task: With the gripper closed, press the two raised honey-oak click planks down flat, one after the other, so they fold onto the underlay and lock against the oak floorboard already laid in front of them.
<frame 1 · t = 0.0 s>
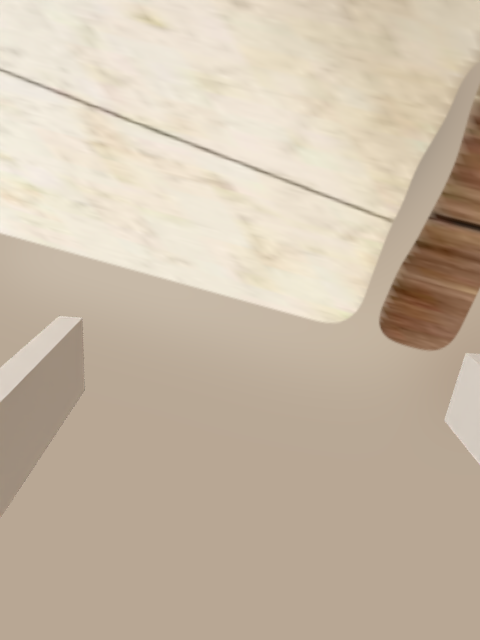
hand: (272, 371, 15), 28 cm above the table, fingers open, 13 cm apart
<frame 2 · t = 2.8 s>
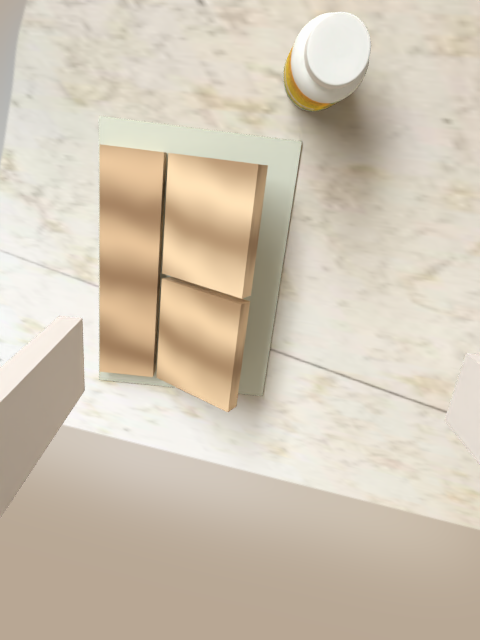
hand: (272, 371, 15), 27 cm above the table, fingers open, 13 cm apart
supplement bottle: (313, 77, 35), on the table
plank a: (209, 224, 36), point 4 cm above the table, hinge at 34.0°
plank b: (199, 342, 40), point 4 cm above the table, hinge at 34.0°
underlay sheet: (190, 271, 41), on the table
laid floorboard: (132, 268, 41), resting on underlay sheet
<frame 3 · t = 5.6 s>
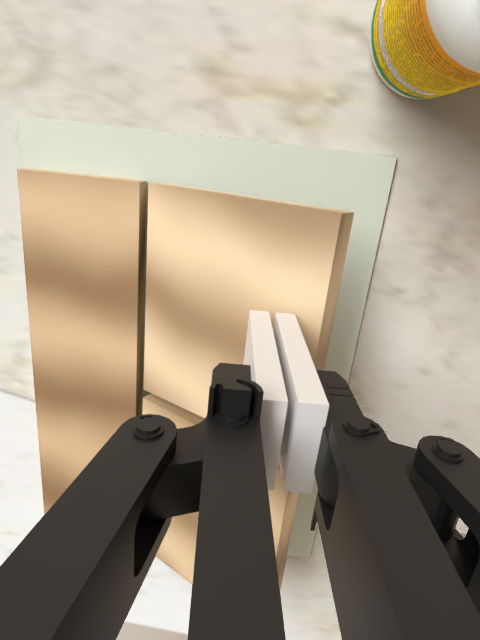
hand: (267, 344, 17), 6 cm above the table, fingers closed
supplement bottle: (425, 33, 18), on the table
plank a: (230, 316, 19), point 3 cm above the table, hinge at 31.7°, touching gripper
plank b: (209, 507, 23), point 4 cm above the table, hinge at 34.0°
underlay sheet: (192, 378, 24), on the table
laid floorboard: (95, 373, 24), resting on underlay sheet
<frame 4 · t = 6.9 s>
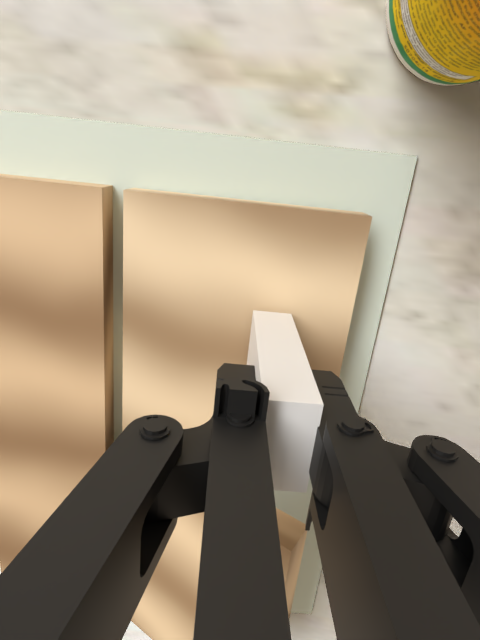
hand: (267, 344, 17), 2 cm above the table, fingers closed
supplement bottle: (454, 4, 15), on the table
plank a: (234, 330, 18), point 1 cm above the table, hinge at 2.1°
plank b: (193, 573, 19), point 4 cm above the table, hinge at 34.0°
underlay sheet: (174, 417, 21), on the table
laid floorboard: (58, 412, 20), resting on underlay sheet
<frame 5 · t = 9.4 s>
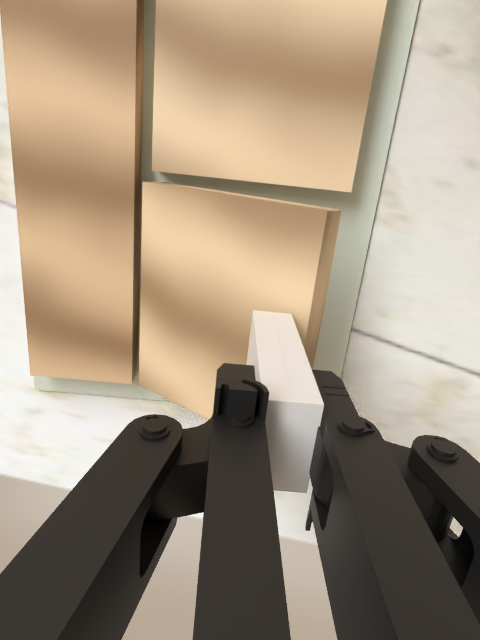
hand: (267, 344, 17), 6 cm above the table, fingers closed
plank a: (265, 50, 18), point 1 cm above the table, hinge at 2.1°
plank b: (221, 313, 19), point 4 cm above the table, hinge at 33.9°, touching gripper
underlay sheet: (201, 174, 21), on the table
laid floorboard: (86, 167, 20), resting on underlay sheet
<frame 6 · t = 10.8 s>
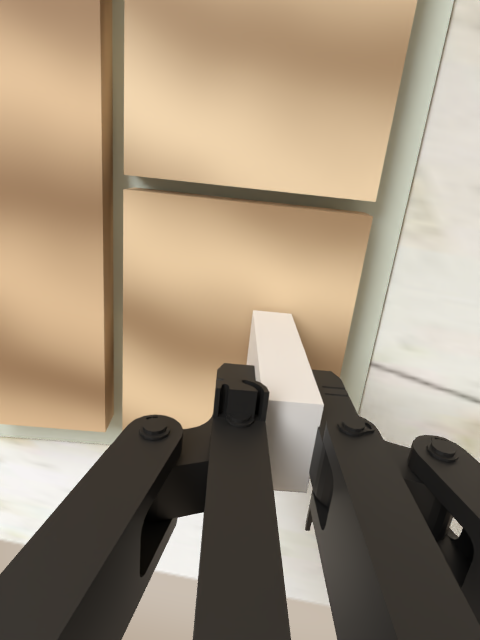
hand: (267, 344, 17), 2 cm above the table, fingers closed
plank a: (267, 20, 14), point 1 cm above the table, hinge at 2.1°
plank b: (235, 330, 18), point 1 cm above the table, hinge at 2.6°, touching gripper
underlay sheet: (187, 179, 17), on the table
laid floorboard: (44, 170, 17), resting on underlay sheet
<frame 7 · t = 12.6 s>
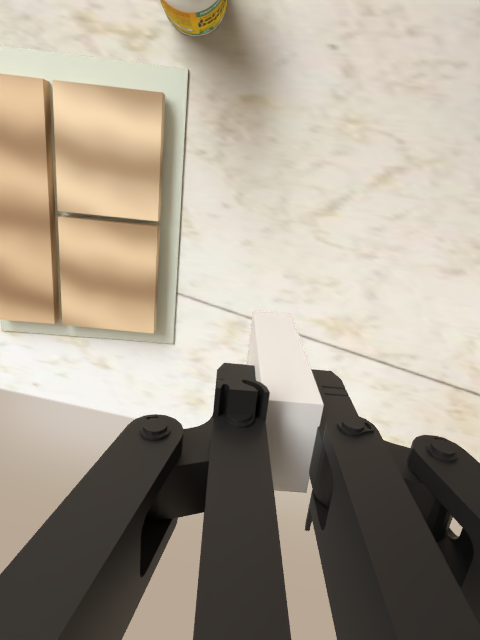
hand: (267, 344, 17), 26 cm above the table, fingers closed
supplement bottle: (195, 0, 35), on the table
plank a: (110, 154, 37), point 1 cm above the table, hinge at 2.1°
plank b: (110, 276, 41), point 1 cm above the table, hinge at 2.6°
underlay sheet: (86, 211, 40), on the table
laid floorboard: (26, 208, 40), resting on underlay sheet
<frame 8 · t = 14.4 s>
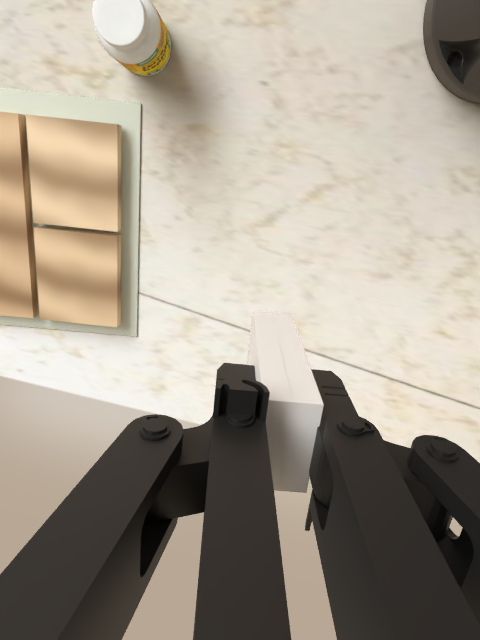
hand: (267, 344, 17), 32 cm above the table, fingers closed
supplement bottle: (144, 46, 41), on the table
plank a: (76, 175, 44), point 1 cm above the table, hinge at 2.1°
plank b: (79, 277, 48), point 1 cm above the table, hinge at 2.6°
underlay sheet: (59, 222, 47), on the table
laid floorboard: (8, 219, 47), resting on underlay sheet
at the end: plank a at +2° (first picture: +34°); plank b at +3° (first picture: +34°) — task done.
